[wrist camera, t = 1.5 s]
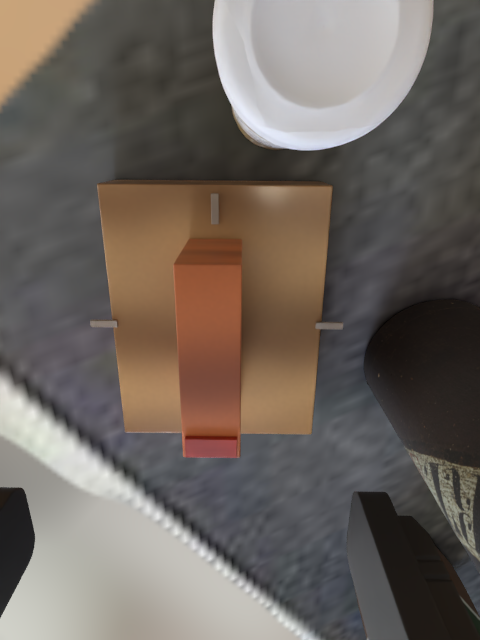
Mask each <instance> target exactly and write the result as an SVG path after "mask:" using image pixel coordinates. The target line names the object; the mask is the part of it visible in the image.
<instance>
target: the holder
mask: <svg viewBox="0 0 480 640" xmlns="http://www.w3.org/2000/svg"><path fill="white" fill-rule="evenodd" d="M173 274H174V293H175V312H176V331H177V349H178V368H179V387H180V406H181V424H182V443H183V456H184V457H199V458H239V457H240V431H241V328H242V239H189V240H188V241H187V243H186V245H185V246H184V248H183V249H182V251H181V253H180V254H179V256H178V257H177V259H176V261H175V262H174V264H173Z"/></svg>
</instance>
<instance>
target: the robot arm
mask: <svg viewBox="0 0 480 640" xmlns="http://www.w3.org/2000/svg"><path fill="white" fill-rule="evenodd" d="M34 542H35V534H34V529H33V524H32V520H31V516H30V511H29V507H28V503H27V498H26V494H25V492H24V490H23V489H22V488H7V487H1V488H0V617H1V615H2V613H3V612H4V610H5V608H6V606H7V604H8V602H9V600H10V598H11V596H12V594H13V592H14V591H15V589H16V587H17V585H18V583H19V581H20V579H21V577H22V575H23V573H24V571H25V570H26V568H27V566H28V564H29V561H30V559H31V557H32V553H33V549H34ZM347 556H348V563H349V567H350V571H351V575H352V579H353V583H354V587H355V590H356V594H357V598H358V602H359V606H360V609H361V613H362V617H363V621H364V625H365V629H366V632H367V636H368V640H480V635H479V633H478V631H477V629H476V627H475V625H474V623H473V621H472V619H471V617H470V615H469V613H468V611H467V609H466V607H465V605H464V603H463V601H462V599H461V597H460V595H459V593H458V591H457V589H456V587H455V585H454V583H453V581H452V580H450V575H449V573H448V571H447V569H446V567H445V565H444V563H443V561H441V559H440V555H439V553H438V551H437V549H436V547H435V545H434V543H433V541H432V539H431V537H430V535H429V534H428V533H427V532H426V531H425V529H424V528H423V527H422V526H421V525H420V524H419V523H418V522H417V521H416V520H415V519H414V518H413V517H412V516H397V513H396V511H395V509H394V506H393V504H392V502H391V499H390V497H389V495H388V494H387V493H386V492H354V493H353V496H352V503H351V510H350V517H349V525H348V532H347Z"/></svg>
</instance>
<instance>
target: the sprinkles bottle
mask: <svg viewBox="0 0 480 640" xmlns="http://www.w3.org/2000/svg"><path fill="white" fill-rule="evenodd" d="M432 21H433V0H215V4H214V12H213V43H214V53H215V58H216V63H217V67H218V72H219V76H220V79H221V83H222V85H223V88H224V90H225V93H226V95H227V97H228V99H229V101H230V103H231V105H232V112H233V116H234V119H235V121H236V123H237V125H238V127H239V129H240V131H241V132H242V133H243V134H244V136H245V137H246V138H247V139H249V140H250V141H251V142H252V143H254V144H255V145H257V146H260V147H263V148H266V149H271V150H281V149H286V148H289V149H294V150H302V151H303V150H321V149H327V148H332V147H335V146H339V145H342V144H345V143H348V142H351V141H353V140H355V139H357V138H359V137H361V136H363V135H365V134H367V133H368V132H370V131H371V130H373V129H374V128H376V127H377V126H378V125H379V124H381V123H382V122H383V121H384V120H385V119H386V118H388V117H389V116H390V114H391V113H392V112H393V111H394V110H395V109H396V108H397V107H398V106H399V104H400V103H401V102H402V101H403V100H404V98H405V97H406V95H407V94H408V92H409V91H410V89H411V87H412V85H413V84H414V82H415V80H416V78H417V76H418V74H419V72H420V69H421V67H422V64H423V61H424V59H425V56H426V52H427V49H428V45H429V41H430V35H431V28H432Z"/></svg>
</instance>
